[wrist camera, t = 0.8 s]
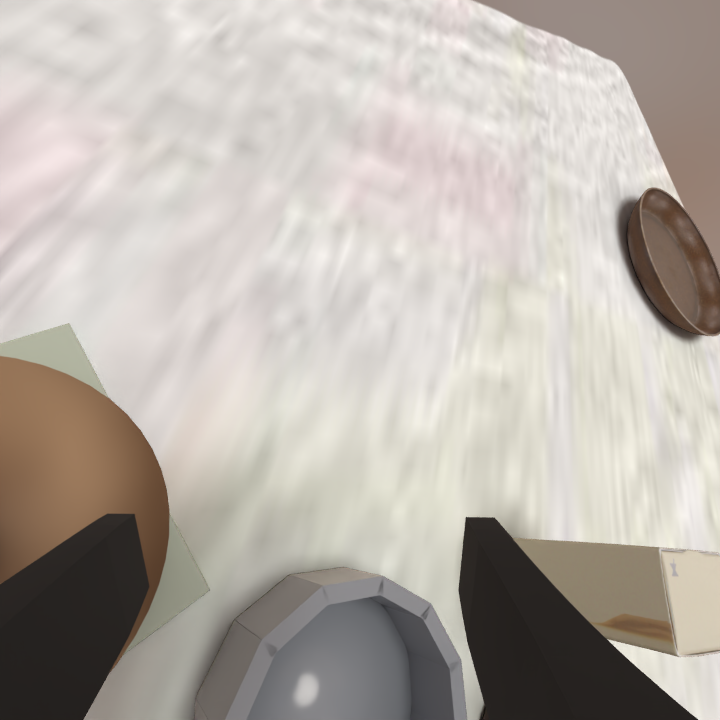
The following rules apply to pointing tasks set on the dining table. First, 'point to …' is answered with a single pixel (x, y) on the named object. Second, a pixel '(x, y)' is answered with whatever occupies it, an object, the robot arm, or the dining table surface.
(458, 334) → the dining table surface
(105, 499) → the lid
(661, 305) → the plant saucer
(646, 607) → the skincare box
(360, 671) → the bowl
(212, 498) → the dining table surface
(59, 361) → the mat
